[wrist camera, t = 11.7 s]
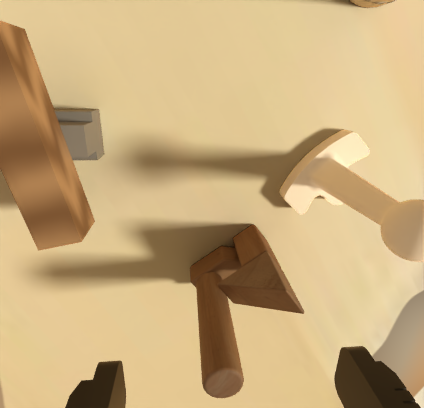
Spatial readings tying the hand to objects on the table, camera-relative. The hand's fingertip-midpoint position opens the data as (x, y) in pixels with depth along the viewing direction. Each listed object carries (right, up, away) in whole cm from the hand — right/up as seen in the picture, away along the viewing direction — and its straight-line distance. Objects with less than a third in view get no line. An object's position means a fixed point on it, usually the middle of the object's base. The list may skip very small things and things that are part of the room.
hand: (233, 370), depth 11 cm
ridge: (-17, +14, +23) cm, 32 cm away
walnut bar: (-17, +12, +18) cm, 27 cm away
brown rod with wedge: (+1, -1, +31) cm, 31 cm away
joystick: (+13, +10, +28) cm, 33 cm away
